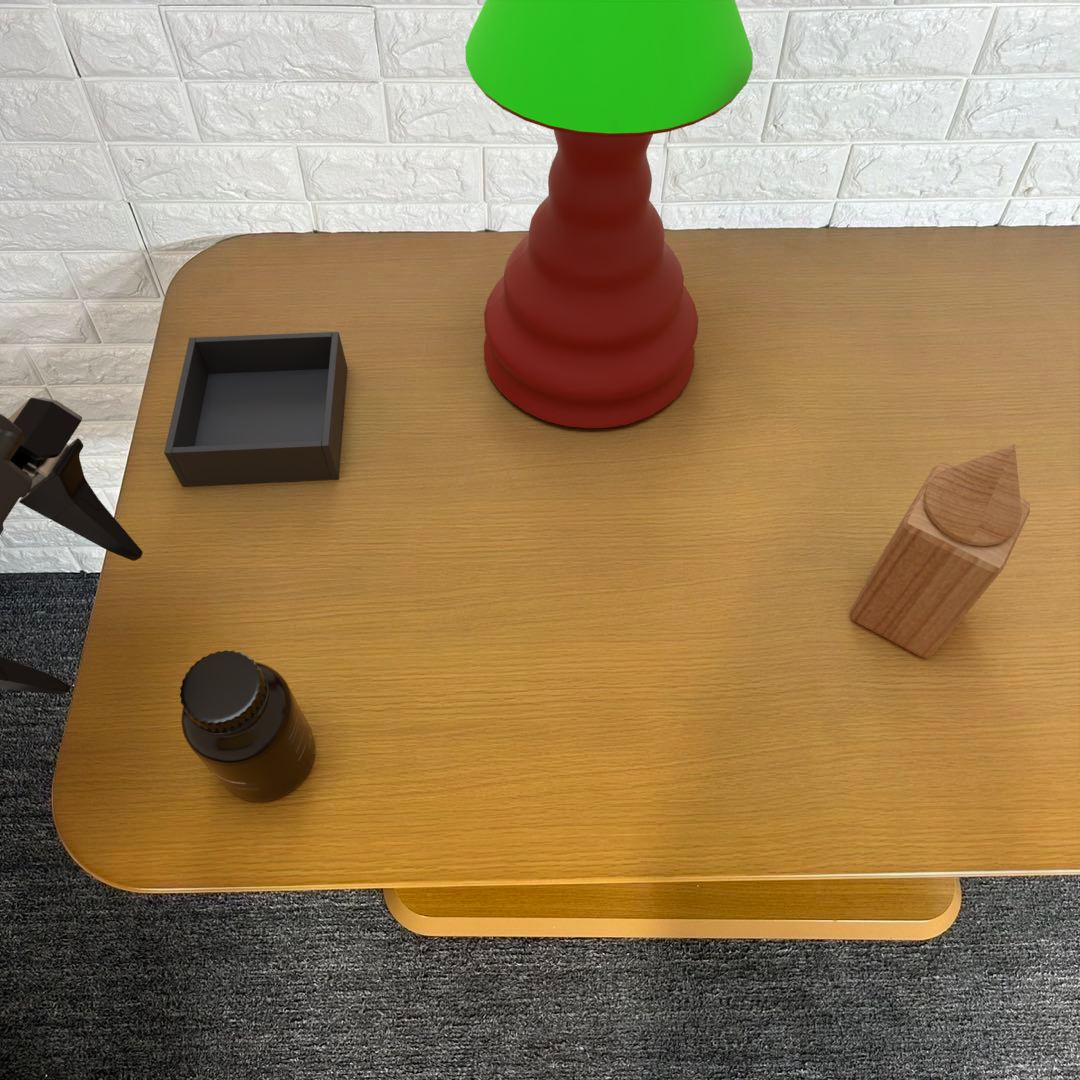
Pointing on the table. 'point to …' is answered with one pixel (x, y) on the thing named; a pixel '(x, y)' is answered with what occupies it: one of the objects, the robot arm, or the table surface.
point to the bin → (259, 409)
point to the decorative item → (944, 552)
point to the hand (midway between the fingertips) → (104, 620)
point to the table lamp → (600, 197)
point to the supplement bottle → (246, 726)
